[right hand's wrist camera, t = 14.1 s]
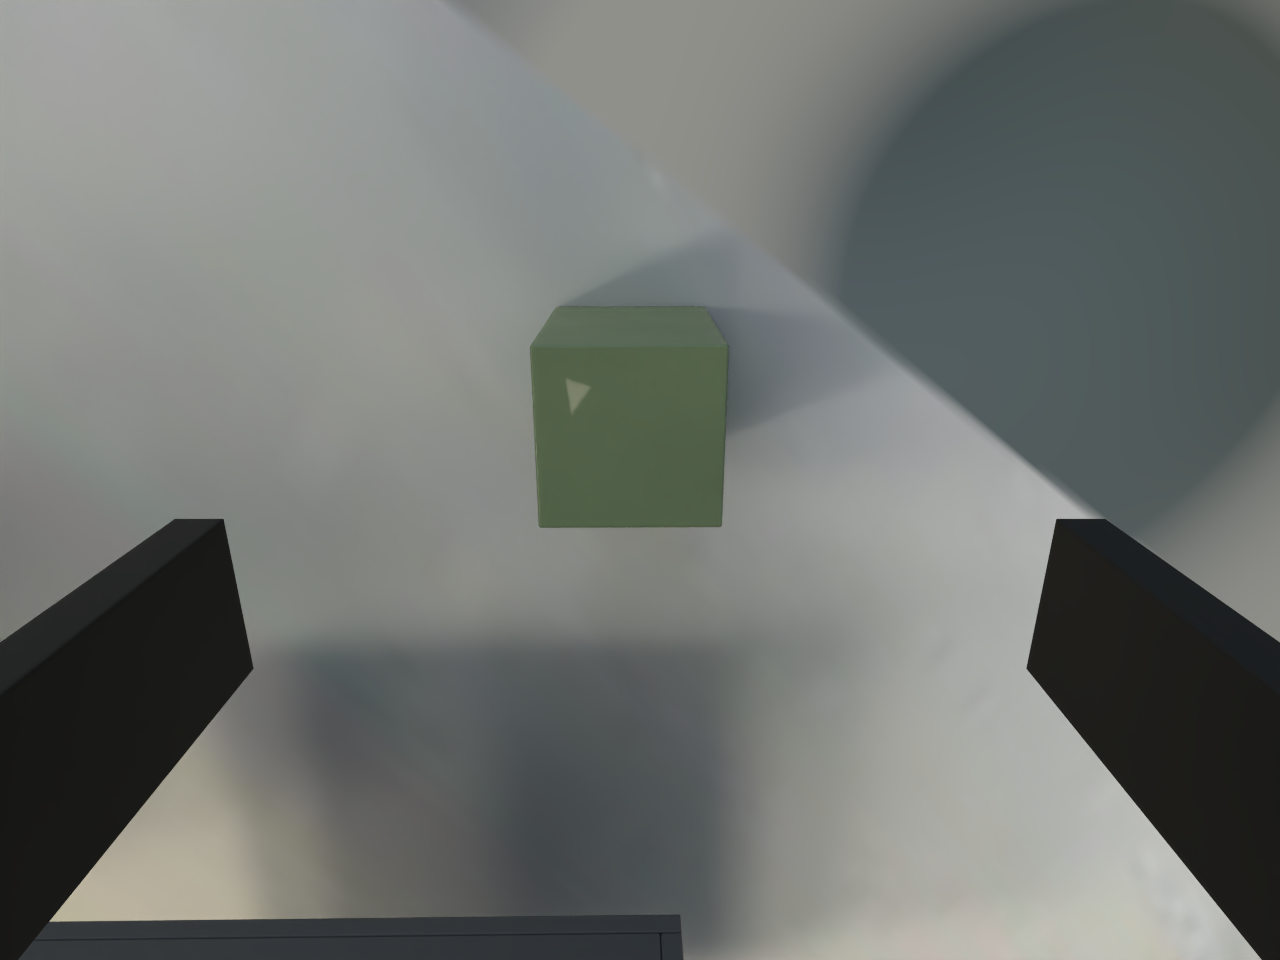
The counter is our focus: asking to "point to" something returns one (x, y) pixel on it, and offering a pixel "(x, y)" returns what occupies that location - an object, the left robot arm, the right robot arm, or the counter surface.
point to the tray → (367, 939)
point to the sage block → (629, 417)
